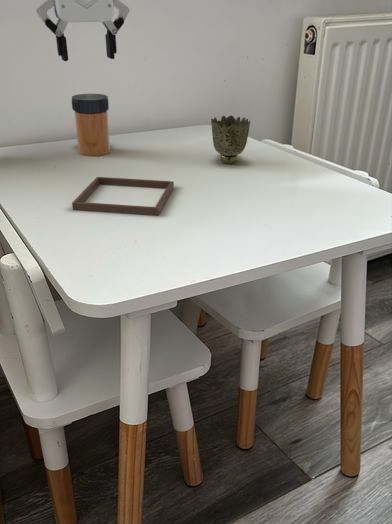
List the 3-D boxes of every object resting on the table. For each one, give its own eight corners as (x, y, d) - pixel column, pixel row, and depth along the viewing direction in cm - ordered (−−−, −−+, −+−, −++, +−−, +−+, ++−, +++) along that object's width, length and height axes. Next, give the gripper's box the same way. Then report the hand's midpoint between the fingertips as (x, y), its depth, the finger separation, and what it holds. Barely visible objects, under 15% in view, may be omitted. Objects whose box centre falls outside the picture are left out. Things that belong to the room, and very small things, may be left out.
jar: (74, 155, 112) (68, 101, 107) (84, 147, 118) (79, 95, 112) (105, 156, 112) (101, 103, 106) (113, 148, 117) (110, 97, 111)
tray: (73, 215, 85) (71, 202, 84) (98, 188, 96) (97, 176, 94) (158, 221, 83) (158, 208, 82) (173, 193, 94) (173, 181, 93)
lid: (67, 112, 108) (66, 99, 106) (79, 105, 113) (77, 92, 112) (103, 113, 107) (102, 100, 106) (112, 106, 113) (112, 94, 111)
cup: (225, 169, 106) (227, 125, 101) (202, 160, 111) (203, 117, 106) (255, 163, 109) (258, 120, 105) (231, 155, 114) (233, 113, 110)
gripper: (28, -57, 90) (44, 64, 100) (132, -55, 95) (138, 59, 105) (22, -55, 96) (38, 58, 105) (120, -54, 101) (127, 55, 111)
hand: (88, 58), depth 105 cm, fingers open, 8 cm apart
